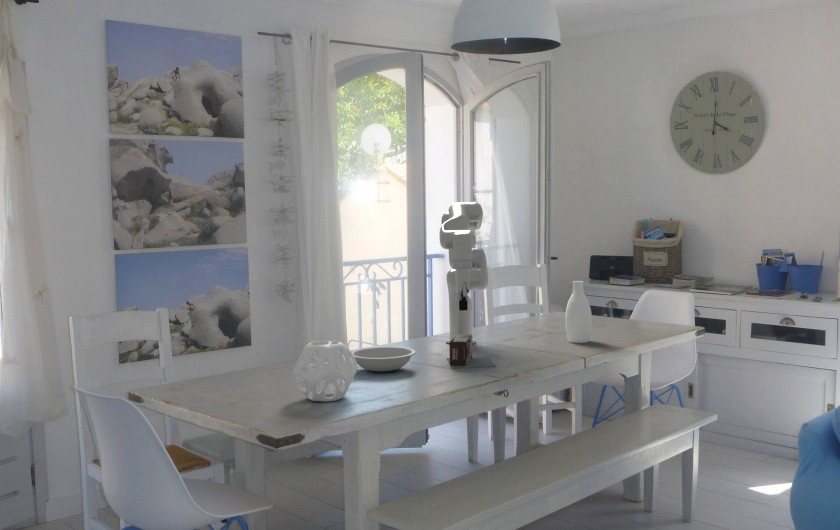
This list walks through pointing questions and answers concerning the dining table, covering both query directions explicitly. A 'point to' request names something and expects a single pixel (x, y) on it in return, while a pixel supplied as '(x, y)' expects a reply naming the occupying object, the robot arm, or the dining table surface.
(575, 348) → the dining table surface
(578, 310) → the bottle
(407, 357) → the soup bowl
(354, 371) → the decorative ball
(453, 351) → the coffee box
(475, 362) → the slate mat
